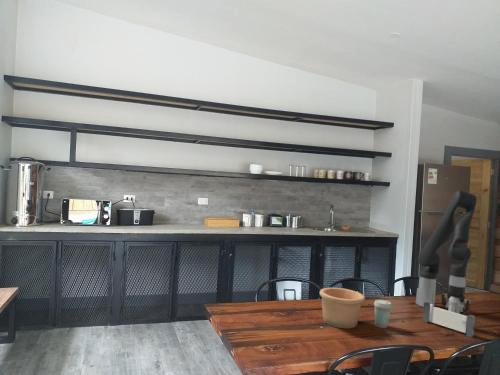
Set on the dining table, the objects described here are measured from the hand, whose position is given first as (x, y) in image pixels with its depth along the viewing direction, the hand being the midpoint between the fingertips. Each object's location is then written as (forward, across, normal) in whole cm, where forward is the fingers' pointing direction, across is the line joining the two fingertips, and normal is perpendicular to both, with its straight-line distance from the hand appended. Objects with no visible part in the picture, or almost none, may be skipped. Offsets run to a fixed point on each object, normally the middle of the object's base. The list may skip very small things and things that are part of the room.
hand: (454, 316), depth 198 cm
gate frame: (+5, 0, -9) cm, 10 cm away
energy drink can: (+5, 0, 0) cm, 5 cm away
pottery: (+5, -34, -52) cm, 62 cm away
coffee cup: (+5, -20, -37) cm, 42 cm away
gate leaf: (+4, 0, -9) cm, 10 cm away
